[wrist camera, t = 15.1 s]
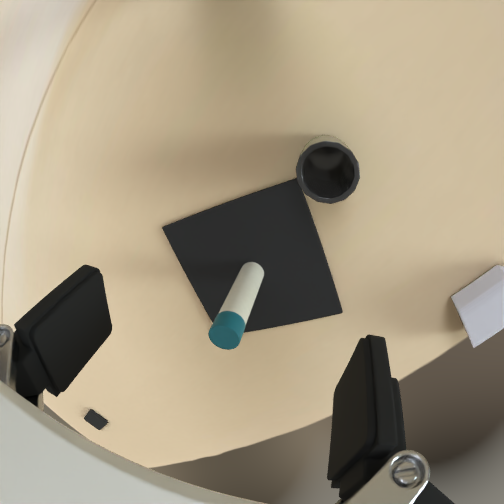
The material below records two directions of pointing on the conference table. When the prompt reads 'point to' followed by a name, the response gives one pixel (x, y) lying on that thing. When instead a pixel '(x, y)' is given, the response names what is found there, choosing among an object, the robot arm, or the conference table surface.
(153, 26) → the conference table surface
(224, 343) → the marker
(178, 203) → the conference table surface
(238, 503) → the robot arm
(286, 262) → the mat
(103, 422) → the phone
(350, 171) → the pen cup
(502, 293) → the charger
